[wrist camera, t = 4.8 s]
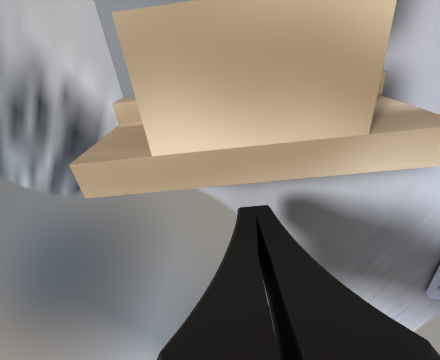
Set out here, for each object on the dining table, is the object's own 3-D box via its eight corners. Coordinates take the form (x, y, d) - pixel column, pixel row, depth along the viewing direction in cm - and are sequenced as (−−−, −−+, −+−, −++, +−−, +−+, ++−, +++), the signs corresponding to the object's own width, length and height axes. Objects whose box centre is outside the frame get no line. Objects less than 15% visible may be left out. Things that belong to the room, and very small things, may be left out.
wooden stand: (355, 144, 12) (433, 204, 8) (143, 165, 13) (101, 231, 8) (383, -5, 9) (539, -50, 5) (103, 34, 10) (2, 28, 5)
